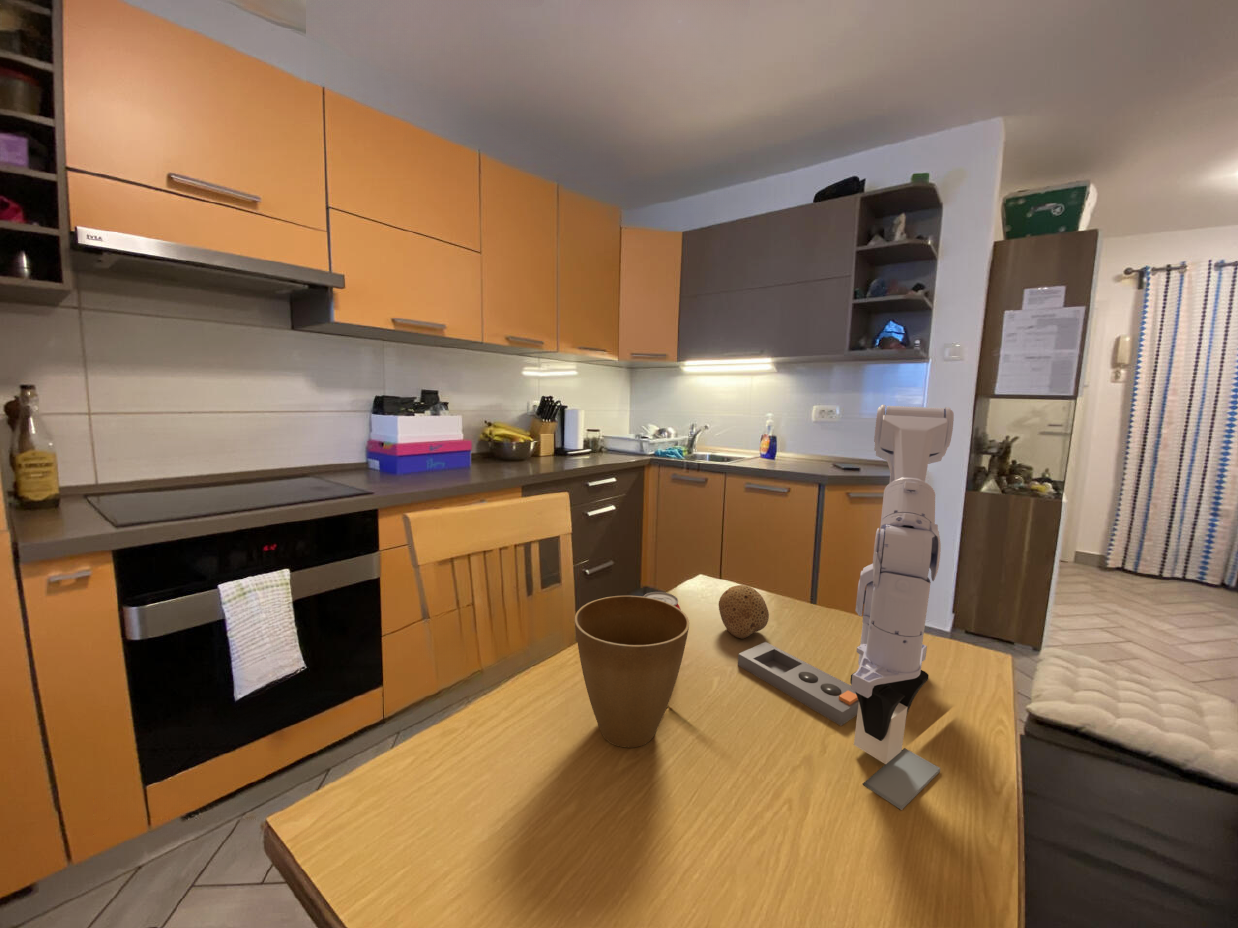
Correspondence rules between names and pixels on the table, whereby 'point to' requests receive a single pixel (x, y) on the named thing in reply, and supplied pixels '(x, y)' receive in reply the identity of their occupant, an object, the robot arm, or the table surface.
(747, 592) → the natural sponge
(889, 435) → the robot arm
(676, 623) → the plant pot
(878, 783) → the mat
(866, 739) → the block
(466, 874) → the table surface
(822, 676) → the power strip
